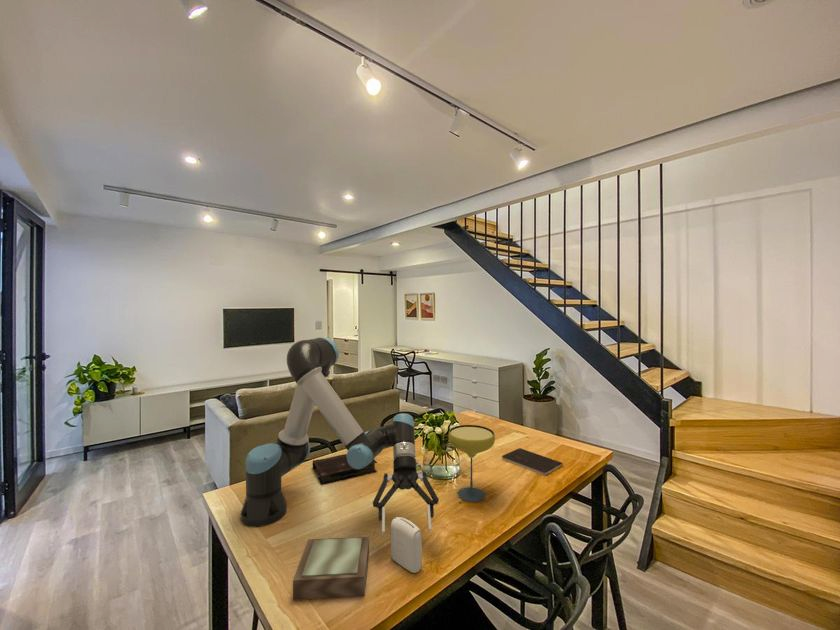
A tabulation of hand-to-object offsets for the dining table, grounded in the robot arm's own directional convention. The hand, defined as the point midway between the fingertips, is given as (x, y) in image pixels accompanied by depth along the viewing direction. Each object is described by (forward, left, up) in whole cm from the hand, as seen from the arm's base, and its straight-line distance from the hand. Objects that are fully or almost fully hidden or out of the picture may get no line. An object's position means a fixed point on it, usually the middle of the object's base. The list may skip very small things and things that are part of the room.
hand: (406, 531), depth 104 cm
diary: (-26, +60, -9) cm, 66 cm away
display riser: (-20, -4, -8) cm, 22 cm away
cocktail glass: (+27, +35, -9) cm, 45 cm away
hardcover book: (+62, +62, -9) cm, 88 cm away
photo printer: (0, -1, -9) cm, 9 cm away
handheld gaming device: (+5, +62, -9) cm, 63 cm away
